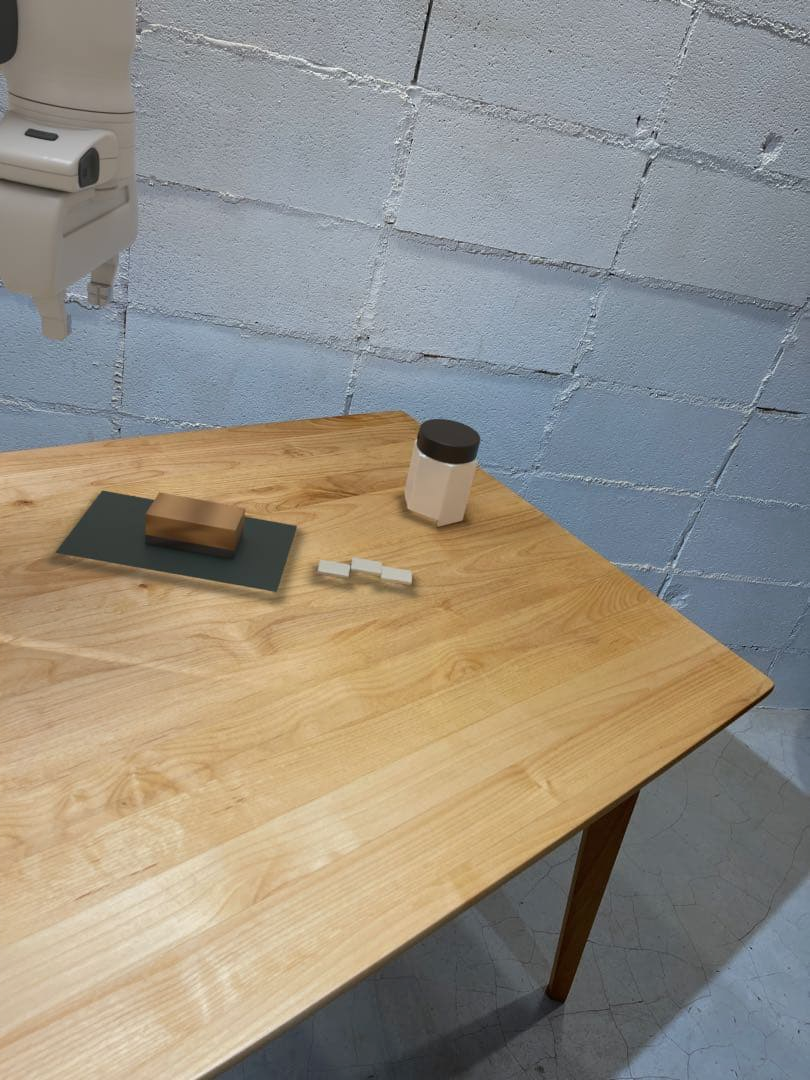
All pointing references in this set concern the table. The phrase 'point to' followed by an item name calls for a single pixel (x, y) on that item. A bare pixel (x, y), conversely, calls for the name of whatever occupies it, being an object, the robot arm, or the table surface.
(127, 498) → the chalkboard
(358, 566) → the white rectangular block
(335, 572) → the white rectangular block
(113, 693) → the table surface
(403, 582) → the white rectangular block
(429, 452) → the jar
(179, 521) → the eraser
